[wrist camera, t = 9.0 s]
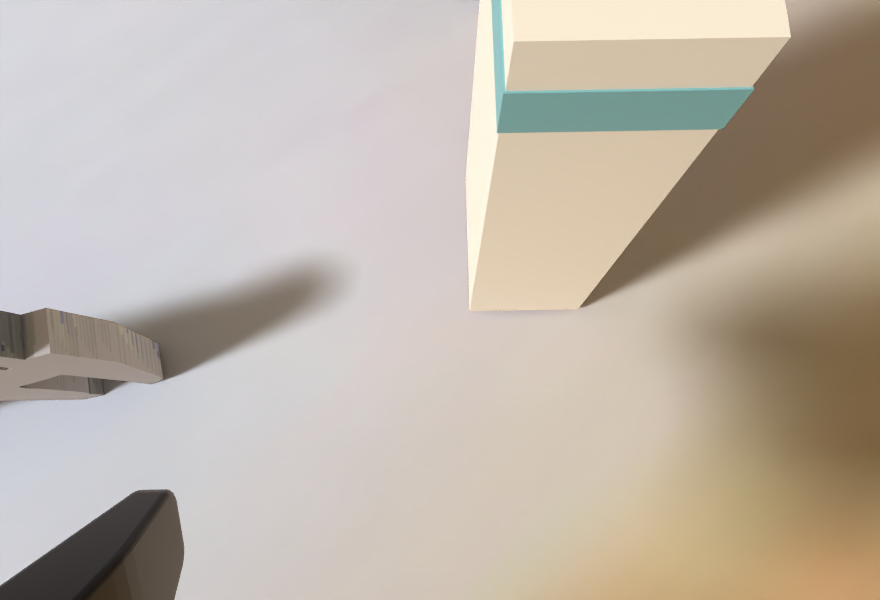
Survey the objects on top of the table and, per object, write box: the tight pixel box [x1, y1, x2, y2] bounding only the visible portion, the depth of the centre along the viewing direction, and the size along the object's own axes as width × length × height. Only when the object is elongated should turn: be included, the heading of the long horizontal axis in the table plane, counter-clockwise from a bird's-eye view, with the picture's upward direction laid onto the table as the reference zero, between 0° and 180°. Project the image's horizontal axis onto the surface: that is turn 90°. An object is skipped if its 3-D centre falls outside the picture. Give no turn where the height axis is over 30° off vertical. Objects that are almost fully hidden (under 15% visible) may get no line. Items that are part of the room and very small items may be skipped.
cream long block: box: [466, 0, 791, 311], centre depth 14 cm, size 4×3×12 cm
